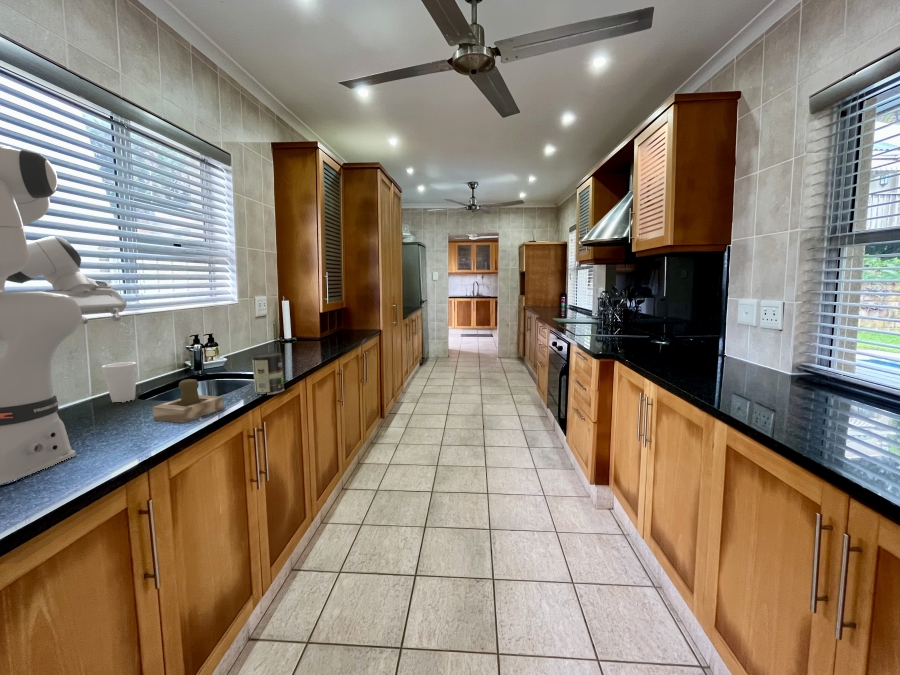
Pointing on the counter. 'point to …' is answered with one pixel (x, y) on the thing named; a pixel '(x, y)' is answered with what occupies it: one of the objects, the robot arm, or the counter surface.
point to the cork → (189, 392)
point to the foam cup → (120, 380)
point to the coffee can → (268, 373)
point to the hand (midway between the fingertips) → (102, 321)
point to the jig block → (187, 409)
